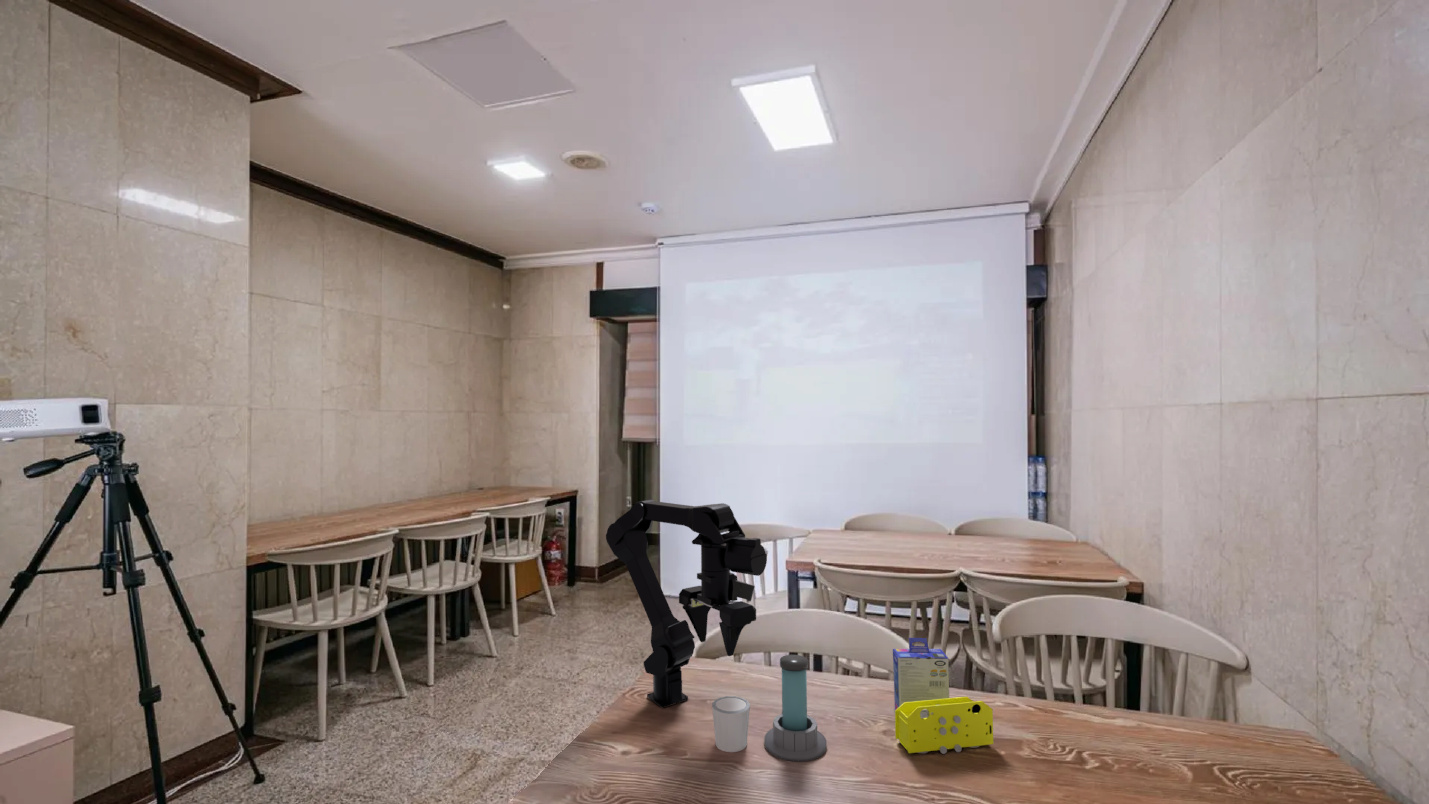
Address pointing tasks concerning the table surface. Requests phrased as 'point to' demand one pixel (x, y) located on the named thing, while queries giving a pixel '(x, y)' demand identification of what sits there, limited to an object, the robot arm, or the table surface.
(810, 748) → the ring mount
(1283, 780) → the table surface
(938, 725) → the yellow toy chassis
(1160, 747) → the table surface
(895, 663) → the ink cartridge box
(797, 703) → the teal capped cylinder
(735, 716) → the shot glass
